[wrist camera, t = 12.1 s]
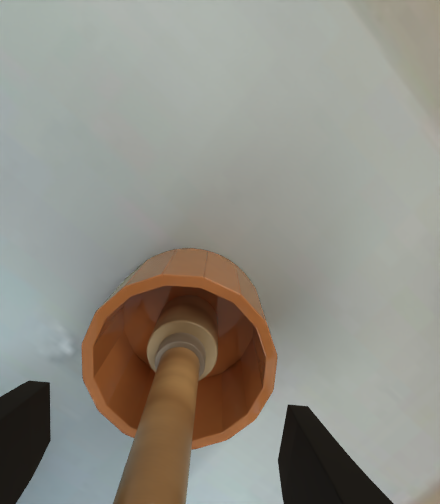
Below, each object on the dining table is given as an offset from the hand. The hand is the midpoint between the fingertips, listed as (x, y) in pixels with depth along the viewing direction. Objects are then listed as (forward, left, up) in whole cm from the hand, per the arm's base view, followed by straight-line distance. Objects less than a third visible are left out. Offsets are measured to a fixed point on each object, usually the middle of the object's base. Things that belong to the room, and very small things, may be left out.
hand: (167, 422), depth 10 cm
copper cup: (0, 0, -7) cm, 7 cm away
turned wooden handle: (0, 0, -7) cm, 7 cm away
